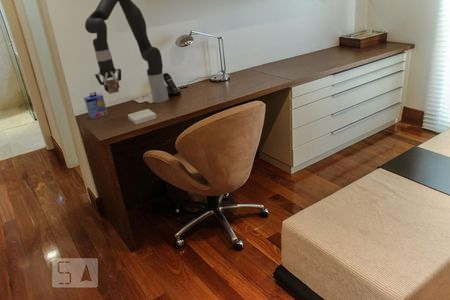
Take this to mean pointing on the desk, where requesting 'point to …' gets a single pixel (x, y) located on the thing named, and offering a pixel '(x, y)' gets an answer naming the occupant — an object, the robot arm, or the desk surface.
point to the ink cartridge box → (95, 105)
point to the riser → (142, 116)
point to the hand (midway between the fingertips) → (112, 90)
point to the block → (112, 86)
